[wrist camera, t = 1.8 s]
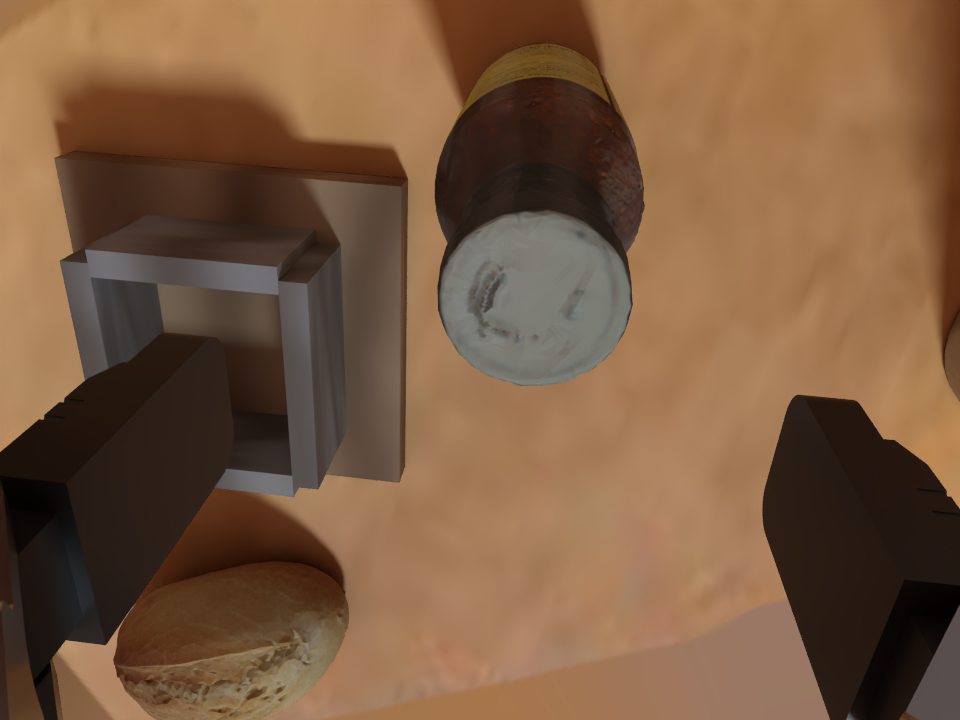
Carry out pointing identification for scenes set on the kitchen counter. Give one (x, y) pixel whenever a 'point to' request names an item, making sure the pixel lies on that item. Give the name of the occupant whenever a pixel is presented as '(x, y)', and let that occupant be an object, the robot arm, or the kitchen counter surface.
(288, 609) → the bread roll
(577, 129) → the sauce bottle
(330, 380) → the grey open box
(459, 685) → the kitchen counter surface
